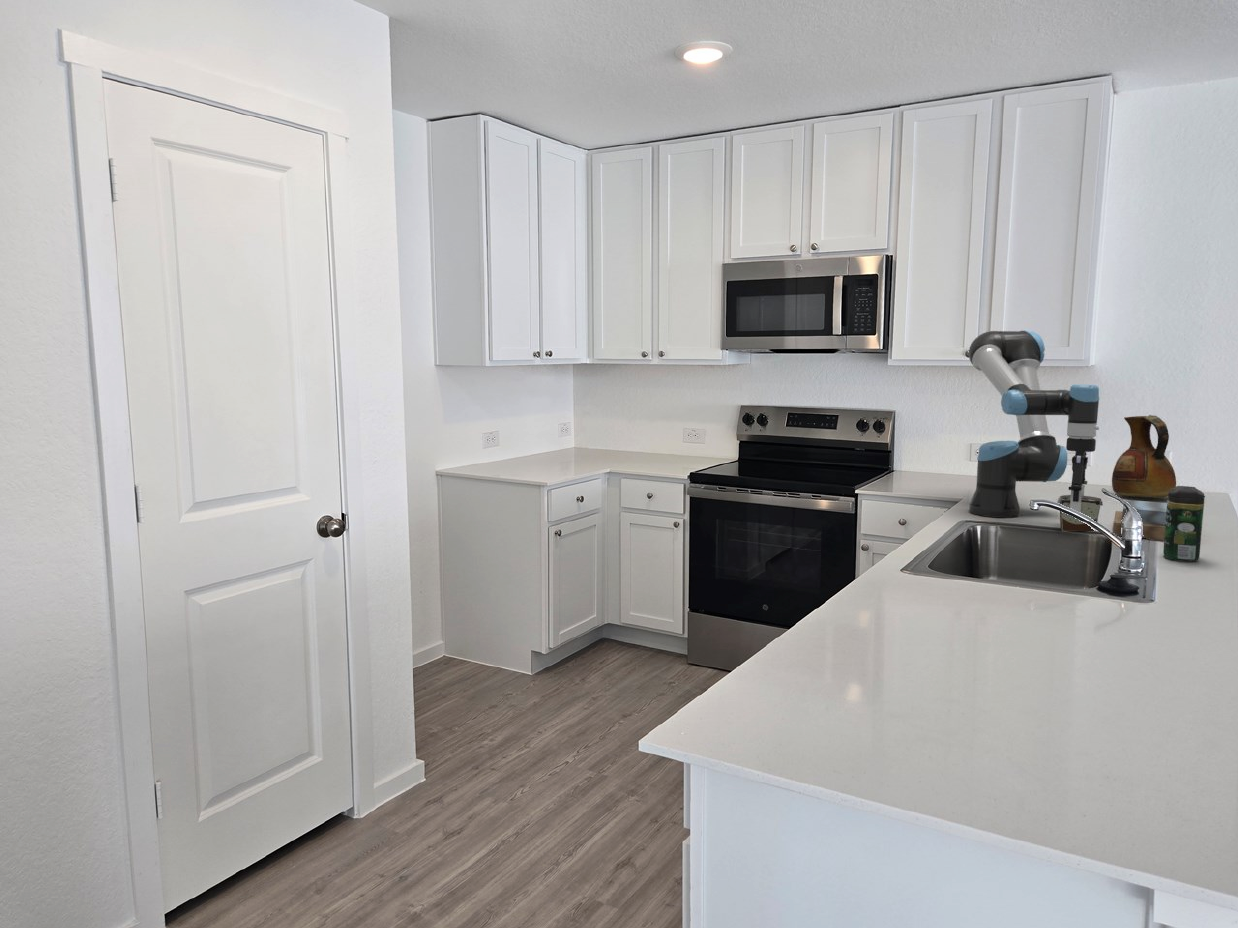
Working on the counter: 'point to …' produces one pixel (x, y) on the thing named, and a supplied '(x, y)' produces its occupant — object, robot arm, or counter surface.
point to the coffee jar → (1183, 523)
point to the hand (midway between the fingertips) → (1076, 509)
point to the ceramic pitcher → (1144, 461)
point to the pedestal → (1145, 518)
